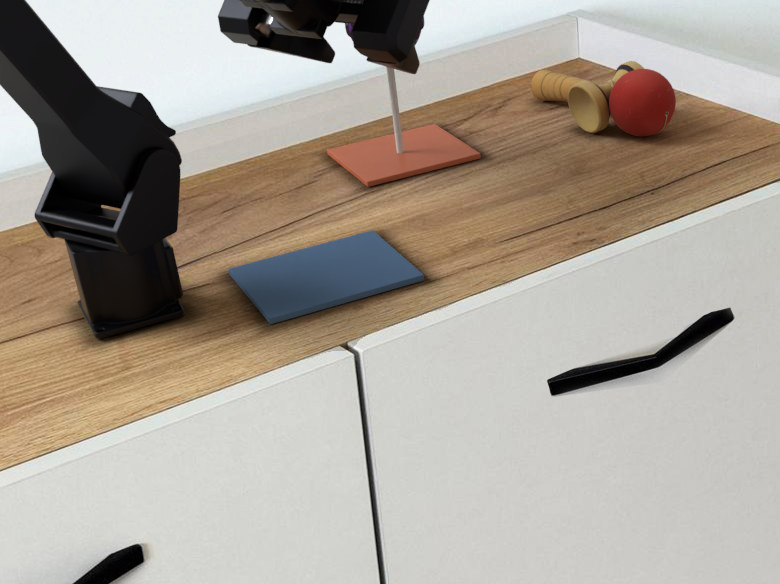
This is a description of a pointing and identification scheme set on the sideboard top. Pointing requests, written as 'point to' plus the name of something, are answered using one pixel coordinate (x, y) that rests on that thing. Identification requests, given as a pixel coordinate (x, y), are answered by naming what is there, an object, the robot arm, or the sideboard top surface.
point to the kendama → (613, 99)
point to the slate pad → (324, 276)
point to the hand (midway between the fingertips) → (373, 63)
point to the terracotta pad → (402, 155)
